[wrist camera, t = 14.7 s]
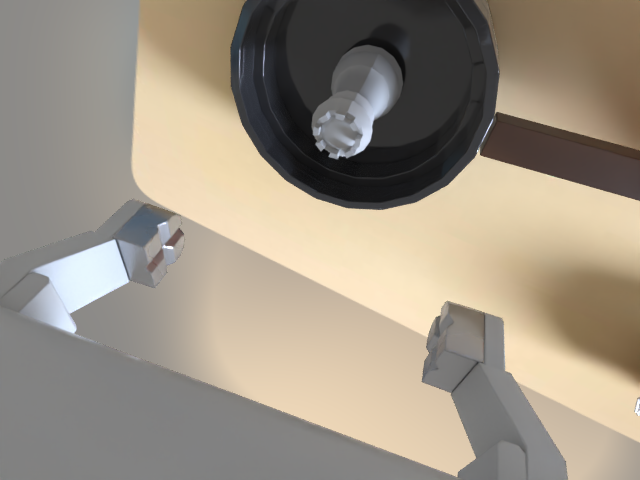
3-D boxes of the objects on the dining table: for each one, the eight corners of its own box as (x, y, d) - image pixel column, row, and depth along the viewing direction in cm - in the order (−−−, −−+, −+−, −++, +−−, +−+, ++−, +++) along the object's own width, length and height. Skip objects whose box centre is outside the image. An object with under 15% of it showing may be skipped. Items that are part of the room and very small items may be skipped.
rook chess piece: (349, 29, 24) (308, 77, 19) (416, 61, 24) (396, 117, 19) (326, 96, 28) (285, 153, 22) (386, 123, 28) (360, 188, 22)
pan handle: (496, 111, 22) (496, 120, 21) (685, 162, 21) (693, 174, 20) (479, 145, 24) (479, 155, 23) (655, 195, 23) (661, 207, 22)
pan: (266, -102, 22) (228, -98, 19) (549, -38, 20) (562, -21, 17) (256, 143, 32) (231, 172, 29) (441, 198, 31) (436, 236, 27)
